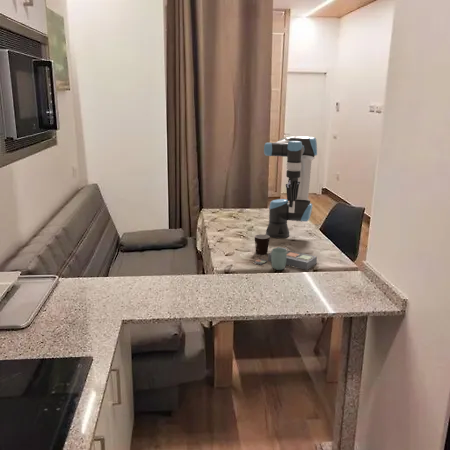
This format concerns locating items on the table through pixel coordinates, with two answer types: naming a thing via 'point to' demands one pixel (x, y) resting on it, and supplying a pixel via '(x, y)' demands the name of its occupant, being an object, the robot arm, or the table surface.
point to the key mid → (293, 255)
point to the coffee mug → (261, 244)
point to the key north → (305, 257)
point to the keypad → (299, 261)
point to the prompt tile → (260, 261)
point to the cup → (278, 258)
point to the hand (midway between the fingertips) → (291, 212)
